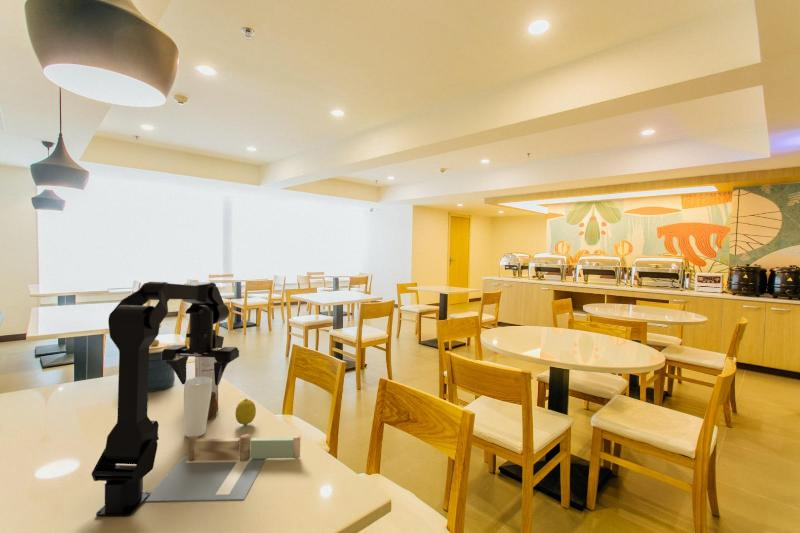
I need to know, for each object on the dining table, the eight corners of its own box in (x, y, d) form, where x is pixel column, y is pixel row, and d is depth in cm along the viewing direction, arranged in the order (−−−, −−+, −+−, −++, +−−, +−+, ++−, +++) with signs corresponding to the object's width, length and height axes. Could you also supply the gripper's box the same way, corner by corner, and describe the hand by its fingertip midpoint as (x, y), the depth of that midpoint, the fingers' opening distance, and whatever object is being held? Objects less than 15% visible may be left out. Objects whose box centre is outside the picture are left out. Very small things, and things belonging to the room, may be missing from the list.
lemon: (249, 419, 112) (249, 393, 112) (259, 425, 109) (259, 398, 108) (231, 425, 108) (232, 399, 108) (241, 432, 104) (241, 404, 104)
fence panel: (249, 459, 90) (250, 439, 90) (252, 455, 92) (252, 435, 92) (299, 458, 91) (299, 438, 91) (300, 454, 93) (301, 435, 92)
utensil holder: (220, 415, 114) (221, 377, 114) (200, 423, 109) (201, 383, 109) (210, 410, 118) (210, 373, 117) (190, 417, 112) (190, 379, 112)
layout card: (244, 499, 76) (244, 498, 76) (143, 501, 75) (143, 500, 75) (270, 450, 95) (270, 449, 95) (189, 451, 94) (190, 450, 94)
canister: (143, 395, 128) (143, 345, 128) (126, 387, 135) (126, 339, 134) (182, 384, 139) (182, 338, 139) (164, 377, 146) (164, 333, 145)
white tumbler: (196, 441, 99) (200, 386, 98) (175, 437, 100) (178, 382, 99) (214, 430, 105) (217, 378, 105) (193, 426, 106) (197, 375, 106)
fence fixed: (251, 456, 92) (251, 434, 92) (248, 462, 90) (248, 439, 89) (191, 457, 91) (191, 434, 91) (186, 463, 89) (186, 439, 88)
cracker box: (193, 398, 127) (194, 338, 126) (213, 394, 131) (213, 336, 130) (197, 413, 116) (198, 347, 115) (218, 409, 119) (219, 345, 118)
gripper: (247, 323, 108) (247, 376, 109) (185, 321, 109) (184, 373, 109) (229, 331, 97) (228, 389, 98) (160, 329, 97) (159, 387, 98)
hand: (200, 384), depth 101 cm, fingers open, 9 cm apart
